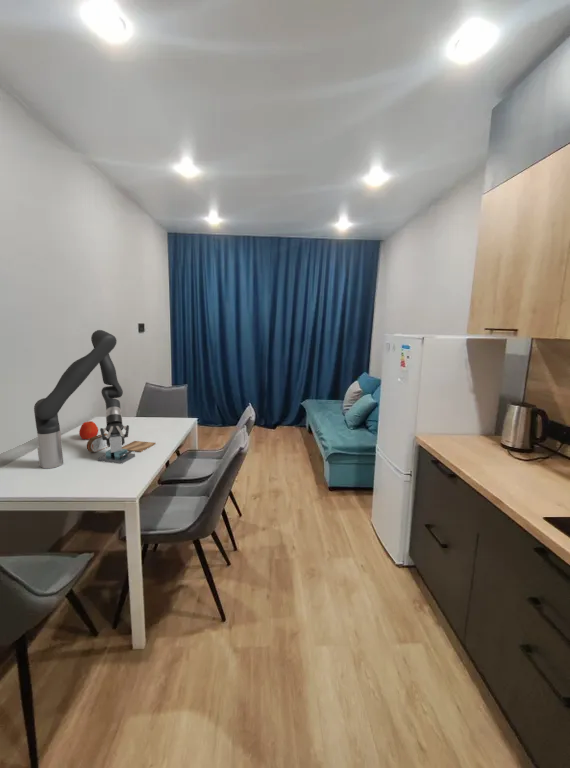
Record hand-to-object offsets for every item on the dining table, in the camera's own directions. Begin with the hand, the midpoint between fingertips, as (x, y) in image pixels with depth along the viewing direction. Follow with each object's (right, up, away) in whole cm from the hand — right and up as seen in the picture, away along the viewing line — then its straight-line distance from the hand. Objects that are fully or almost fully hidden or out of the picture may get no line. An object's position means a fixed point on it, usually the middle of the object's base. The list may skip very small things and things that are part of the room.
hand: (116, 445), depth 178 cm
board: (+2, -5, +20) cm, 21 cm away
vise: (-1, -8, +3) cm, 8 cm away
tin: (-16, -6, +16) cm, 23 cm away
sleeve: (-1, -3, +2) cm, 4 cm away
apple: (-34, -2, +36) cm, 50 cm away
